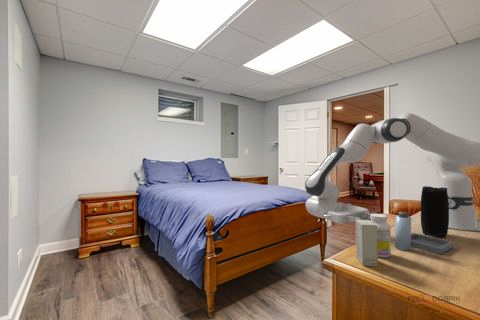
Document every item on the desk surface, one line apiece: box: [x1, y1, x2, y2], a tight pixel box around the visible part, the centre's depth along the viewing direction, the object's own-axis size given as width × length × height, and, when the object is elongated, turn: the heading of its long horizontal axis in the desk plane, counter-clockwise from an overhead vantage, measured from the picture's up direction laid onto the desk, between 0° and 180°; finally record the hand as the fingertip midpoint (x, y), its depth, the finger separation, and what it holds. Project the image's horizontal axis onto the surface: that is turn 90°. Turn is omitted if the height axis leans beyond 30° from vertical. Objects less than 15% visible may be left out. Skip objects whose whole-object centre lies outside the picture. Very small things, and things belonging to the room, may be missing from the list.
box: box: [411, 232, 454, 256], centre depth 81 cm, size 11×12×2 cm
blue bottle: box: [394, 211, 412, 252], centre depth 78 cm, size 4×4×12 cm
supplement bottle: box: [370, 213, 392, 258], centre depth 74 cm, size 7×7×13 cm
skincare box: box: [355, 219, 379, 267], centre depth 68 cm, size 6×4×12 cm
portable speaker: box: [420, 186, 449, 239], centre depth 92 cm, size 9×9×20 cm
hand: (367, 219), depth 89 cm, fingers open, 8 cm apart
